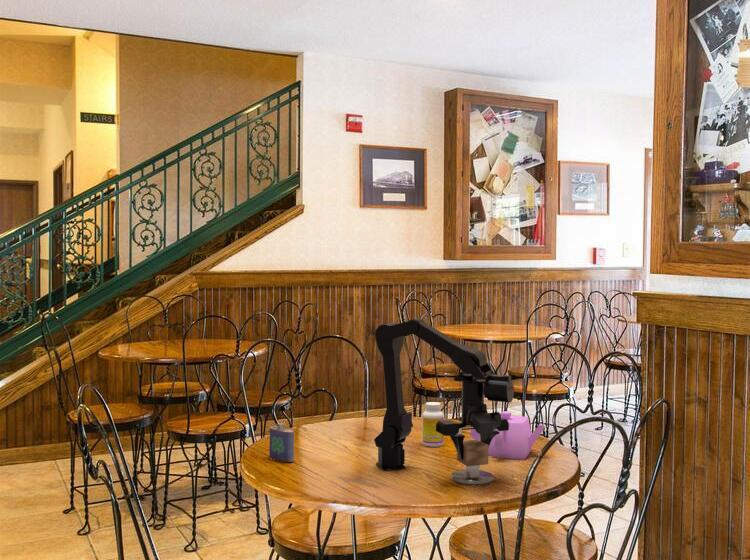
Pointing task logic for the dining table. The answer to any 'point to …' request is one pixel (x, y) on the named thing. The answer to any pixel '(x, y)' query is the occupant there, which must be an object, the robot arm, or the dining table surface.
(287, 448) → the flask
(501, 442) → the teakettle
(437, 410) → the supplement bottle
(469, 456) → the drawer-style box
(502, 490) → the dining table surface
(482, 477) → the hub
